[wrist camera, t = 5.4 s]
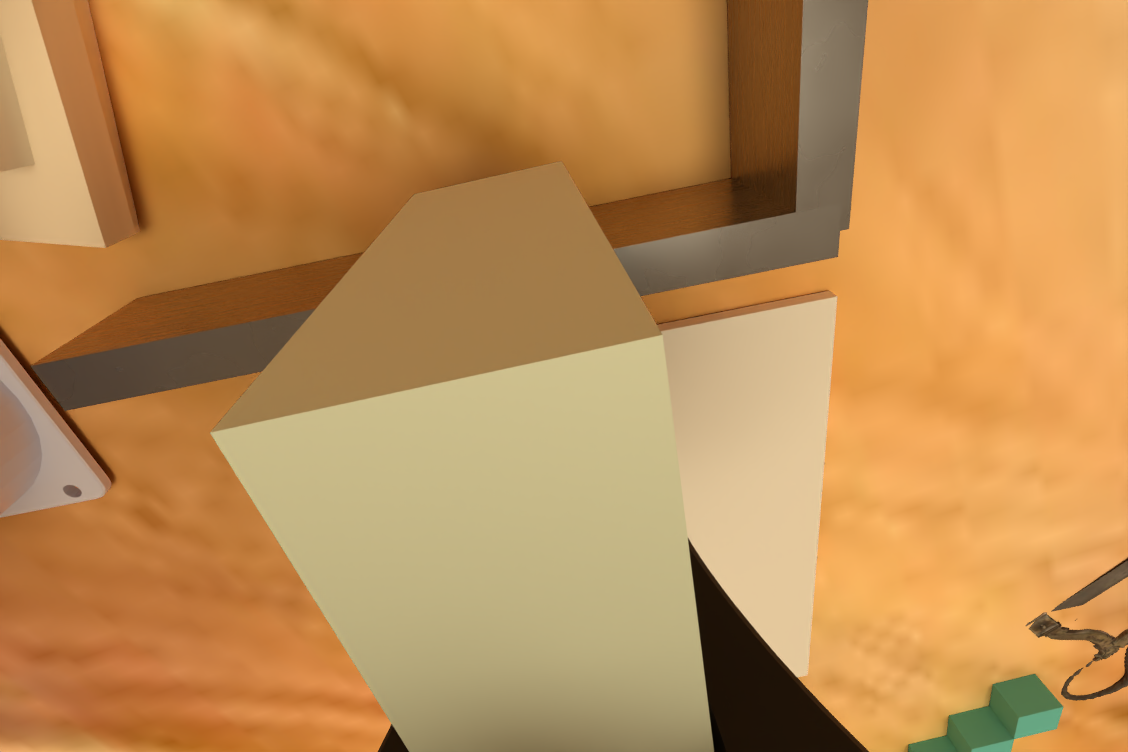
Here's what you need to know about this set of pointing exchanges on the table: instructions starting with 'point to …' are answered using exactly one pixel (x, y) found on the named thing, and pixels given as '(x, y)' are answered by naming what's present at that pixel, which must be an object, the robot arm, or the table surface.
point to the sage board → (488, 479)
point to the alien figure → (999, 719)
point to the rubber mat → (756, 454)
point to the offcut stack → (58, 131)
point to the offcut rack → (633, 226)
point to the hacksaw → (1088, 630)
